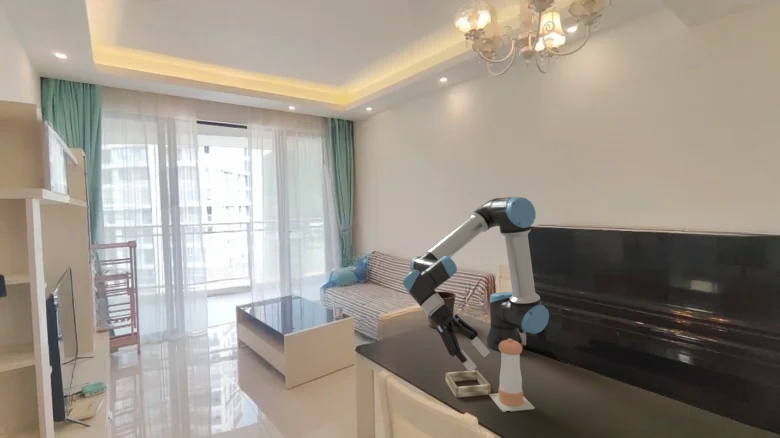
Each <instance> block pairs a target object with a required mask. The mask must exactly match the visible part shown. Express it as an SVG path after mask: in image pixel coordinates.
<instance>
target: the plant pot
mask: <svg viewBox="0 0 780 438" xmlns="http://www.w3.org/2000/svg"><path fill="white" fill-rule="evenodd" d="M436 292H437V293H438V294H439V296H440V297H441V298H442V299H443V300H444V304H447V305H448V306H449V307H450V309H451V310H452V314H451V316H452V317H454V311H455V310H454V308H455V303H456V297H457V294H455V293H454V292H450V291H436ZM427 317H428V325H429V327H430V328H432V329H436V328H438V327H439V326H440V324H439V325H435V324H434V323H433V321H432V320H431V319H430V315H429V316H428V315H427ZM436 330H437V329H436Z"/></svg>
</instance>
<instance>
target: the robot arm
mask: <svg viewBox="0 0 780 438" xmlns="http://www.w3.org/2000/svg"><path fill="white" fill-rule="evenodd" d="M536 215H537V213H536V208H535V206H534V205H533V203H532V202H531V200H529V199H527V198H526V197H523V196H522V197H521V196H510V197H509V196H508V197H496V198H493V199H490V200H488V201H486V202H485V203H483V204H482V205H480V206H479V207H477V208H476V209H475V210H474V211H473V212H471V214H470V215H469V218H468V219H467V220H465V221H464V222H463V223H462V224H461V225H459V226H458V227H457V228H455V229H454V230H453V231H452V232H450V233H449V234H448V235H446V237H444V238H443V239H442V240H440V241H439V242H438V243H436V244H435V245H434V246H433V247H432V248H430V249H429V250H428V251H427V252H425V253H424V254H423V255H422V256H415V257H413V258H412V260H411V261H410V264H409V269H410V271H411V272H409V273H408V274H407V275H406V276H405V277H404V278H403V279H402V285H403V287H404V289H406V291H407V292H408V294H409V295H410V296H411V297H412V298H413V299H414V300H415V302H416V303H417V304H418V305H419V306H420V308H421V309H422V311H423V312H425V315H426V316H427V317H428V316H429V315H430V319H431V320H432V321H433V323H434V324H435V325H439V324H440V326H439V327H438V328H436V331H437V332H438V334H439V336H440V337H441V339H442V342H443V343H444V345H445V348H446V350H447V352H448V354H449V356H451V357H455V356H456V358H458V360H459V361H460V362H461V364H462V365H463V366H464V367H465V368H466V371H469V372H472V371H473V370H476V368H478V367H477V365H476V364H475V363H474V361H473V360H472V359H471V357H469V356H468V354H467V353H466V352H465V351H464V350H463V349H461V347H460V345H459V341H458V338H457V335H456V333H459V334H460V335H462V336H464V337H466V338H467V339H468V340H470V343H471V344H472V345H473V346H474V347H475V349H476V350H477V351H478V352H479V354H480V355H481V356H482V357H483V358H485V357H487V356H488V355H489V354H490V353H491V351H490V350H489V349H488V348H490V349H492V350H494V351H499V352H500V350H499V348H498V347H499V343H500V342H501V341H504V340H508V339H509V338H510V339H512V340H514V341H517V342H519V343H520V344H521V346H522V349H523V348H524V347H523V346H524V344H523V343H524V342H523V338H522V336H521V333H520V330H522V331H523V332H525V333H529V334H533V335H535V334H538V333H541V332H542V331H543V330H544V329H546V326H547V324H548V322H549V319H550V313H549V310H548V308H547V307H546V306H544V304H542V302H541V297H540V295H539V294H538V293H536V289H535V281H534V274H533V266H532V258H531V251H530V243H529V236H528V235H529V233H530V232H531V230H532V227H531V226H532V225H533V224H534V223H535V221H534V220H536V217H537V216H536ZM495 227H499V233H500V234H501V235H503V237H504V240H505V246H506V255H507V262H508V269H509V275H510V282H511V291H508V292H507V291H505V292H504V291H503V292H494V293H492V294H491V295H490V297H489V311H490V312H489V315H490V317H489V319H490V326H489V331H488V333H487V336H486V346H485V344H484V342H483V341H482V340H480V339H479V337H478V336H479V333H478V331H477V330H476V329H475V328H473V327H472V326H471V325H469V323H467V322H466V321H464V320H463V319H462V318H461V317H460V316H459V315H458V314H454V315H453V317H452V316H451V314H452V310H451V309H450V307H449V306H448V305H447V304H444V300H443V299H442V298H441V297H440V296H439V294H438V293H437V292H438V291H436V290H437V288H439V287H440V286H441V285H443V284H444V283H446V282H447V281H448V280H449V279H451V278H452V277H453V276H454V275H455V274H456V273H457V270H458V267H457V265H456V262H454V260H453V259H452V257H453V256H454V255H455V254H456V253H458V252H459V251H461V250H462V249H463V248H464V247H465V246H467V244H469V243H470V242H471V241H472V240H474V239H475V238H477V236H478V235H480V234H481V233H485V232H487V231H488V230H490V229H492V228H495Z"/></svg>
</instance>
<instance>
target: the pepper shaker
mask: <svg viewBox="0 0 780 438" xmlns="http://www.w3.org/2000/svg"><path fill="white" fill-rule="evenodd" d="M498 348H499V350H500V351H499V352H501V353H500V363H501V364H500V372H499V386H498V393H499V401H500V402H501V403H503V404H505V405H508V406H520V405H522V404H523V396H524V390H523V378H522V372H521V362H520V361H521V360H520V358H521V357H520V356H521V355H520V354H522V352H523V348H522V346H521V344H520V343H519V342H517V341H514V340H512V339H510V338H509V339H508V340H504V341H501V342H500V343H499V347H498Z"/></svg>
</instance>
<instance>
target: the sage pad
mask: <svg viewBox="0 0 780 438" xmlns="http://www.w3.org/2000/svg"><path fill="white" fill-rule="evenodd" d="M488 396H489V397H490V398H491V400H492V401H493V402H494V404H495V405H496V406H497V407H498V408H499V410H500V411H501V410H502V411H501V412H502V413H507V412H506V411H510V412H517V411H518V412H519V411H529V410H535V406H534V405H533V404H532V403H531V402H530V401H529V400H528V399H527V398H526V397H525V396H524V395H523V404H522V405H520V406H508V405H505V404H503V403H501V402H500V401H499V392H496V393H491V394H489V395H488Z"/></svg>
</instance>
